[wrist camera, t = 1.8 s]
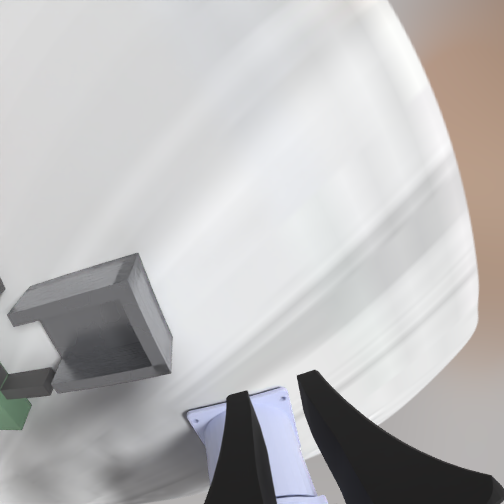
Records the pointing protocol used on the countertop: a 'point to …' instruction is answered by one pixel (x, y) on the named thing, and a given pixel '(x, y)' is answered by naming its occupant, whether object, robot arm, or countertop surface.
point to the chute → (100, 325)
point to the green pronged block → (21, 392)
